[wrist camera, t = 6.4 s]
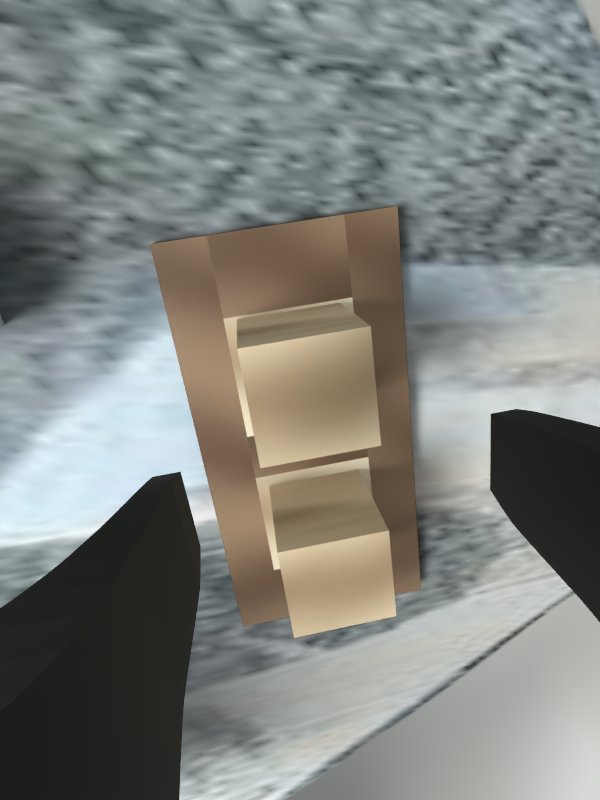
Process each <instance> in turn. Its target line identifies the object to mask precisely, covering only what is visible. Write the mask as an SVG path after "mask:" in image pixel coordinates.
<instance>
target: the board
mask: <svg viewBox="0 0 600 800" xmlns="http://www.w3.org/2000/svg"><path fill="white" fill-rule="evenodd" d="M150 247H151V251H152V255H153V259H154V263H155V267H156V271H157V275H158V279H159V283H160V288H161V292H162V296H163V300H164V304H165V308H166V312H167V316H168V320H169V324H170V328H171V332H172V337H173V341H174V345H175V349H176V353H177V357H178V361H179V365H180V369H181V373H182V377H183V381H184V385H185V390H186V394H187V398H188V402H189V406H190V410H191V414H192V418H193V422H194V426H195V430H196V434H197V438H198V443H199V447H200V451H201V455H202V459H203V463H204V467H205V471H206V475H207V479H208V483H209V487H210V492H211V496H212V500H213V504H214V508H215V512H216V516H217V520H218V524H219V528H220V532H221V536H222V540H223V545H224V549H225V553H226V557H227V561H228V565H229V569H230V573H231V577H232V581H233V585H234V589H235V593H236V598H237V602H238V606H239V610H240V614H241V618H242V622H243V626H249V625H254V624H258V623H263V622H268V621H273V620H277V619H282V618H287V617H290V615H289V610H288V605H287V599H286V594H285V589H284V584H283V579H282V574H281V569H280V564H279V559H278V553H277V546H276V538H275V530H274V522H273V514H272V507H271V499H270V491H269V486H272V485H277V484H282V483H288V482H293V481H298V480H303V479H308V478H314V477H319V476H324V475H329V474H335V473H340V472H345V471H350V470H356V469H359V471H360V473H361V475H362V477H363V480H364V482H365V484H366V486H367V488H368V490H369V492H370V494H371V496H372V498H373V500H374V502H375V504H376V506H377V508H378V510H379V512H380V514H381V516H382V518H383V520H384V522H385V524H386V526H387V528H388V530H389V537H390V548H391V560H392V571H393V583H394V594H395V595H396V594H401V593H406V592H410V591H415V590H420V589H421V583H420V566H419V550H418V533H417V517H416V501H415V484H414V468H413V451H412V435H411V419H410V402H409V386H408V369H407V353H406V336H405V320H404V304H403V287H402V271H401V254H400V238H399V221H398V206H395V207H388V208H381V209H375V210H368V211H362V212H355V213H348V214H342V215H335V216H329V217H322V218H316V219H309V220H303V221H296V222H290V223H283V224H277V225H270V226H264V227H257V228H251V229H244V230H237V231H231V232H224V233H218V234H211V235H205V236H198V237H192V238H185V239H179V240H172V241H166V242H159V243H153V244H150ZM334 303H341V304H342V305H344V306H345V307H346V308H348V309H349V310H350V311H351V312H353V313H354V314H355V315H357V316H358V317H359V318H361V319H362V320H363V321H365V322H366V323H367V324H368V325H370V326H371V336H372V347H373V358H374V370H375V381H376V393H377V404H378V415H379V427H380V438H381V446H377V447H371V448H366V449H361V450H355V451H350V452H345V453H339V454H334V455H329V456H323V457H318V458H313V459H308V460H302V461H297V462H292V463H286V464H281V465H276V466H270V467H265V468H260V464H259V458H258V453H257V448H256V443H255V438H254V433H253V428H252V423H251V418H250V413H249V407H248V402H247V397H246V392H245V387H244V382H243V377H242V372H241V367H240V362H239V356H238V351H237V319H243V318H249V317H255V316H261V315H267V314H273V313H279V312H285V311H292V310H298V309H304V308H310V307H316V306H322V305H328V304H334Z"/></svg>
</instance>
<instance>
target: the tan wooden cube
mask: <svg viewBox="0 0 600 800" xmlns="http://www.w3.org/2000/svg"><path fill="white" fill-rule="evenodd" d="M237 351H238V356H239V362H240V367H241V372H242V377H243V382H244V387H245V392H246V397H247V402H248V407H249V413H250V418H251V423H252V428H253V433H254V438H255V443H256V448H257V453H258V458H259V464H260V468H265V467H270V466H276V465H281V464H286V463H292V462H297V461H302V460H308V459H313V458H318V457H323V456H329V455H334V454H339V453H345V452H350V451H355V450H361V449H366V448H371V447H377V446H381V438H380V427H379V415H378V404H377V393H376V381H375V370H374V358H373V347H372V336H371V326H370V325H368V324H367V323H366V322H365V321H363V320H362V319H361V318H359V317H358V316H357V315H355V314H354V313H353V312H351V311H350V310H349V309H348V308H346V307H345V306H344V305H342V304H341V303H334V304H328V305H322V306H316V307H310V308H304V309H298V310H292V311H285V312H279V313H273V314H267V315H261V316H255V317H249V318H243V319H237Z"/></svg>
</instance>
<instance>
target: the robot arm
mask: <svg viewBox="0 0 600 800" xmlns="http://www.w3.org/2000/svg"><path fill="white" fill-rule="evenodd" d="M490 490H491V491H492V493H493V495H494V496H495V498H496V499H497V501H498V502H499V504H500V506H501V507H502V509H503V510H504V512H505V513H506V514H507V516H508V517H509V519H510V520H511V522H512V523H513V524H514V525H515V527H516V528H517V529H518V530H519V531H520V532H521V534H522V535H523V536H524V537H525V538H526V539H527V540H528V541H529V543H530V544H531V545H532V546H533V547H534V548H535V549H536V550H537V552H538V553H539V554H540V555H541V556H542V557H543V558H544V559H545V560H546V562H547V563H548V564H549V565H550V566H551V567H552V568H553V569H554V570H555V571H556V573H557V574H558V575H559V576H560V577H561V578H562V579H563V580H564V581H565V582H566V584H567V585H568V586H569V587H570V588H571V589H572V590H573V591H574V592H575V594H576V595H577V596H578V597H579V598H580V599H581V600H582V601H583V603H584V604H585V605H586V606H587V607H588V608H589V610H590V611H591V612H592V613H593V615H594V616H595V617H596V618H597V619H598V621H599V622H600V427H597V426H593V425H589V424H585V423H581V422H577V421H573V420H568V419H564V418H560V417H556V416H552V415H547V414H543V413H538V412H533V411H527V410H519V409H515V410H509V411H504V412H499V413H493V414H491V474H490ZM199 591H200V543H199V540H198V536H197V532H196V529H195V525H194V521H193V517H192V514H191V510H190V506H189V502H188V499H187V495H186V491H185V487H184V484H183V480H182V476H181V472H177V473H172V474H166V475H161V476H156V477H152V478H151V479H150V480H149V481H147V482H146V483H145V484H144V485H143V486H142V487H141V488H140V489H139V490H138V491H137V492H136V493H135V494H134V495H133V496H132V497H131V498H130V499H129V500H128V501H127V502H126V503H125V504H124V505H123V506H122V507H121V508H120V509H119V510H118V511H117V512H116V513H115V514H114V515H113V516H112V517H111V518H110V519H109V520H108V521H107V522H106V523H105V524H104V525H103V526H102V527H101V528H100V529H99V530H97V531H96V532H95V533H94V534H93V535H92V536H91V537H90V538H89V539H87V540H86V541H85V542H84V543H83V544H82V545H81V546H80V547H79V548H77V549H76V550H75V551H74V552H73V553H72V554H71V555H70V556H69V557H67V558H66V559H65V560H64V561H63V562H61V563H60V564H59V565H58V566H57V567H55V568H54V569H53V570H52V571H50V572H49V573H48V574H47V575H45V576H44V577H43V578H41V579H40V580H39V581H37V582H36V583H35V584H33V585H32V586H31V587H29V588H28V589H27V590H25V591H24V592H23V593H21V594H20V595H19V596H17V597H16V598H14V599H13V600H12V601H10V602H9V603H7V604H6V605H4V606H3V607H1V608H0V800H179V788H180V761H181V740H182V720H183V705H184V696H185V687H186V680H187V673H188V666H189V660H190V653H191V646H192V640H193V633H194V626H195V620H196V613H197V606H198V599H199Z"/></svg>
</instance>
